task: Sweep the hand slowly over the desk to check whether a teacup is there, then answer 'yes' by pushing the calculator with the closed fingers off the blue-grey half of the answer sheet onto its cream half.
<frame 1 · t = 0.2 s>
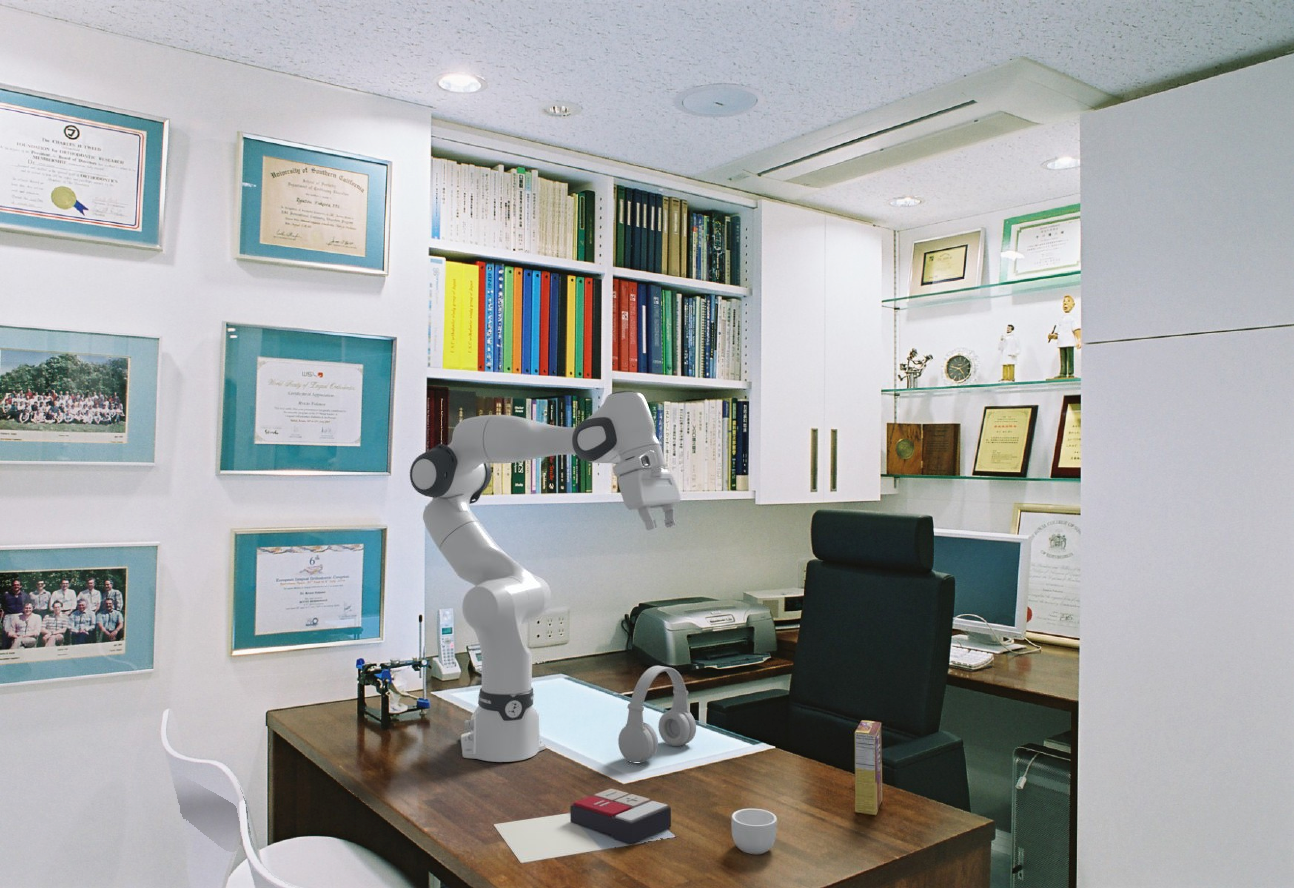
hand: (661, 528, 188), 52 cm above the table, tool tilted 20°, fingers open, 8 cm apart
teacup: (755, 847, 156), on the table
calculator: (620, 825, 164), resting on answer sheet
headphones: (657, 753, 206), on the table
answer sheet: (583, 830, 161), on the table
candy box: (868, 807, 176), on the table
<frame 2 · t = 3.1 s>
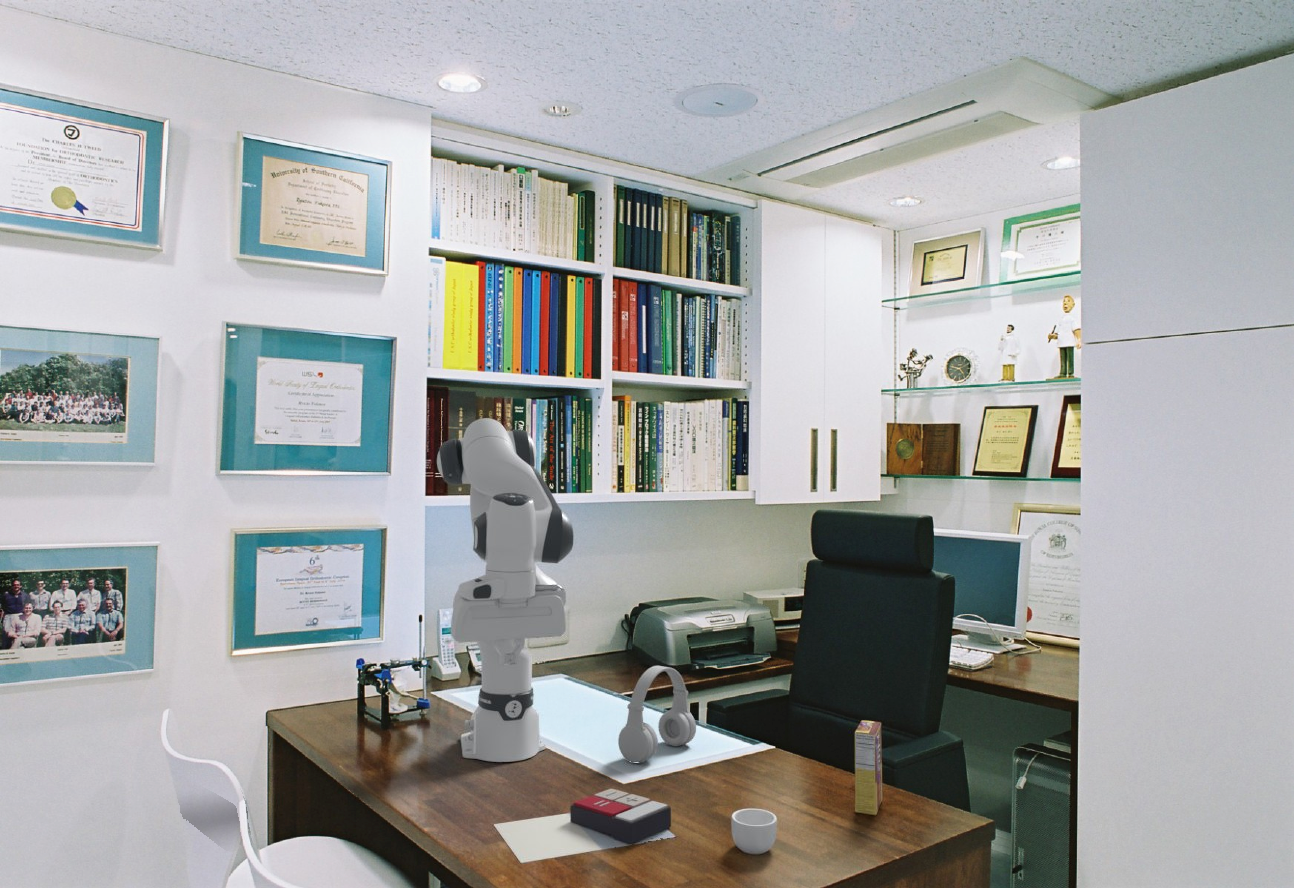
hand: (508, 664, 161), 29 cm above the table, tool pointing down, fingers closed
nothing on the table moved.
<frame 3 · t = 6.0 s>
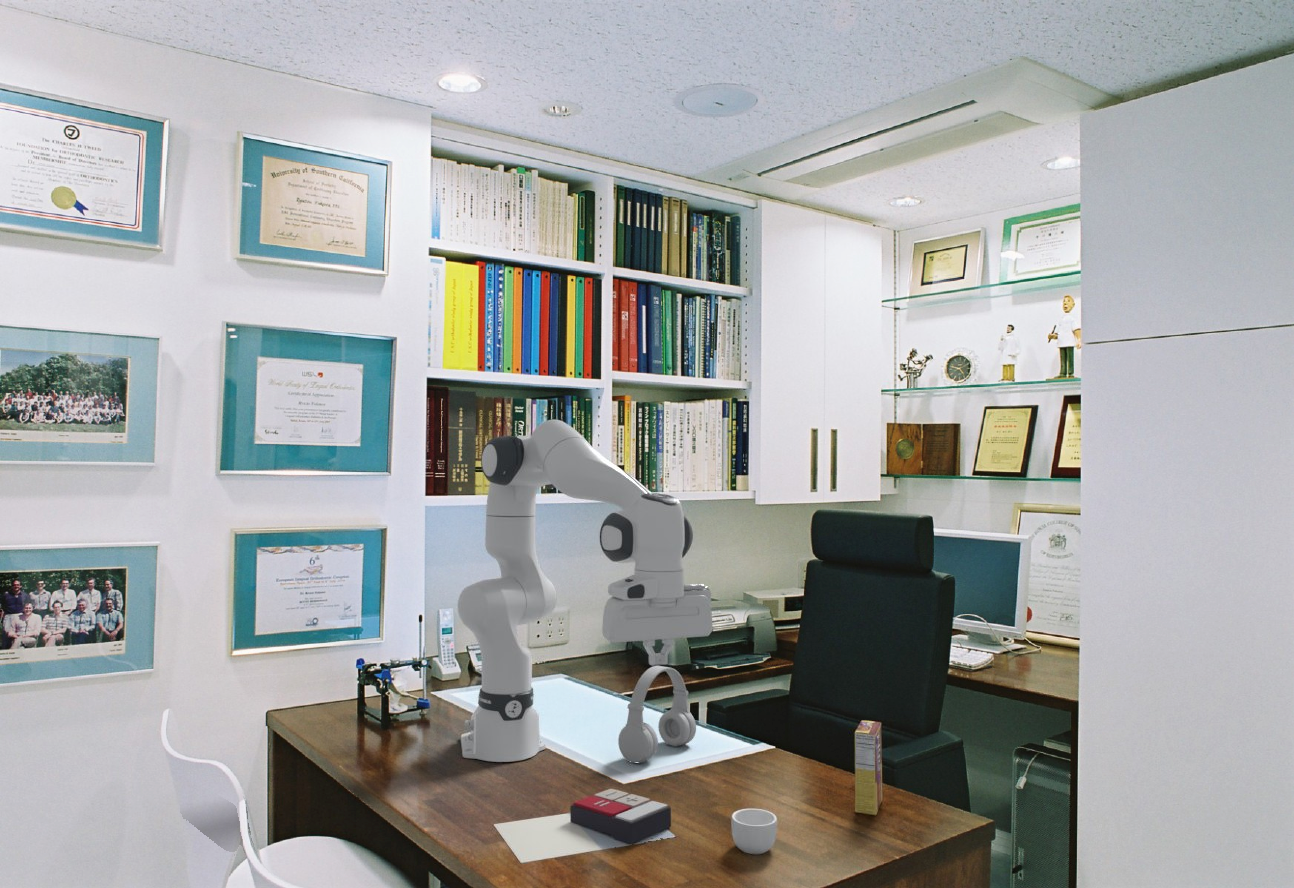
hand: (658, 664, 161), 30 cm above the table, tool pointing down, fingers closed
nothing on the table moved.
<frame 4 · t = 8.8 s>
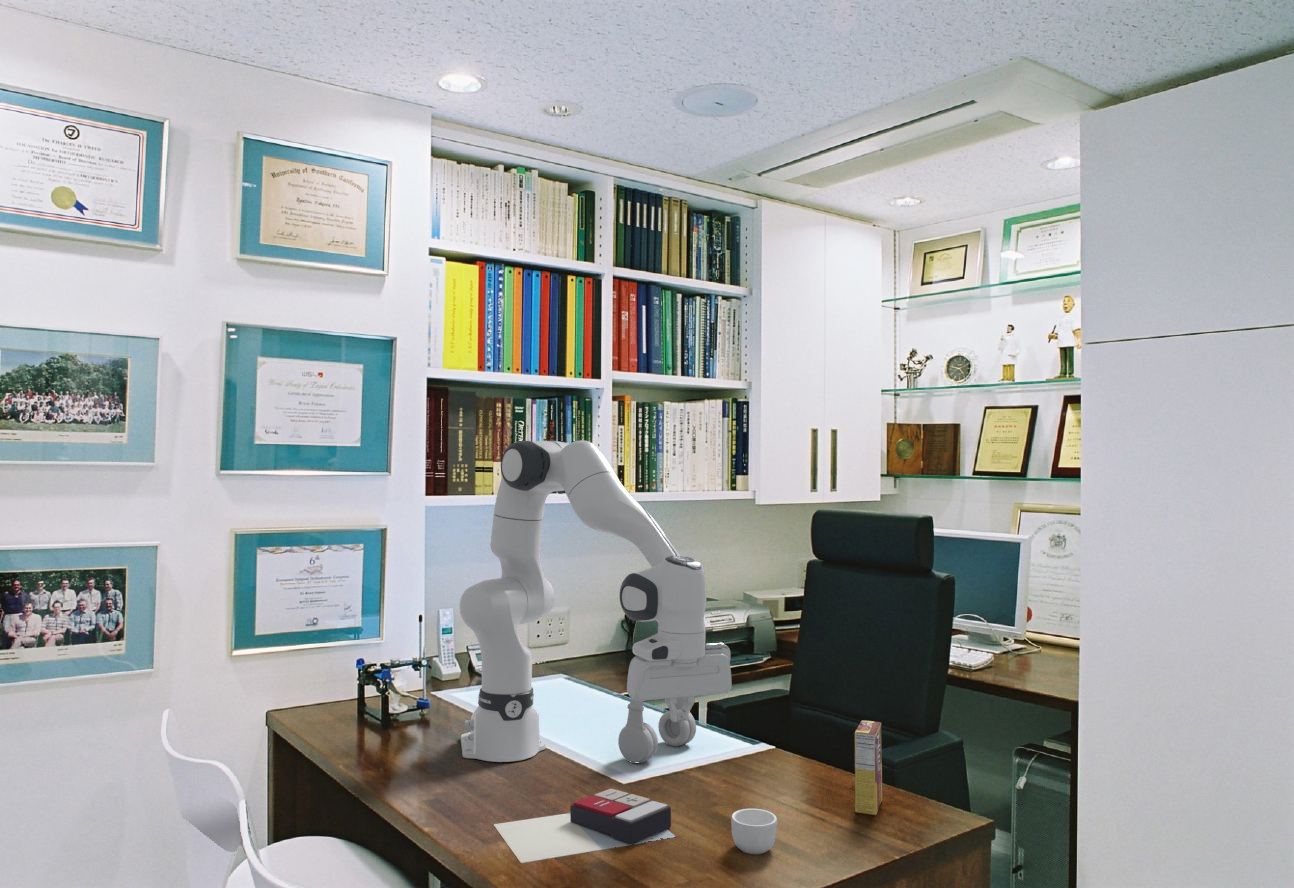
hand: (679, 720, 169), 18 cm above the table, tool pointing down, fingers closed
nothing on the table moved.
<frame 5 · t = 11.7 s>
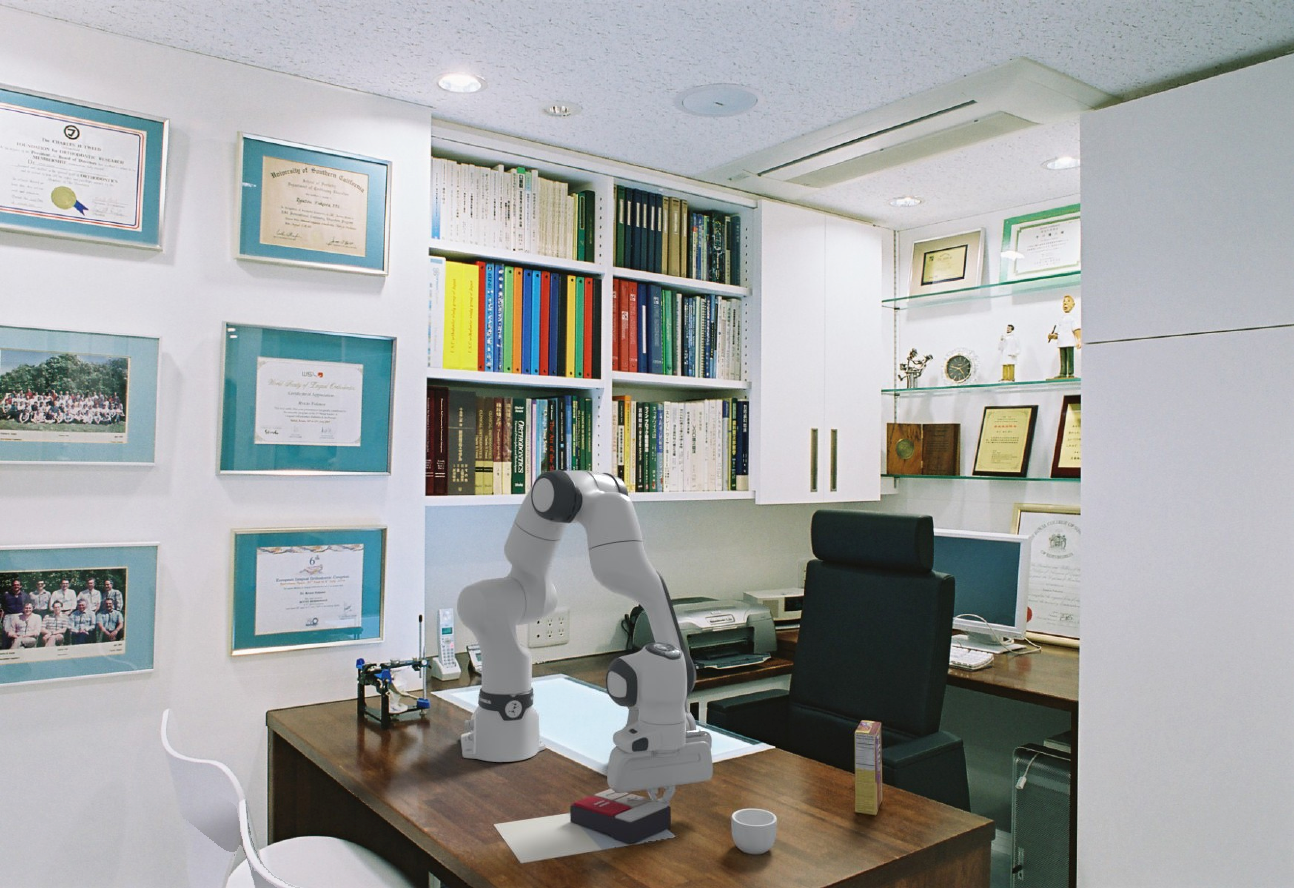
hand: (660, 809, 168), 2 cm above the table, tool pointing down, fingers closed
calculator: (620, 825, 164), resting on answer sheet, touching gripper
everything else where it was.
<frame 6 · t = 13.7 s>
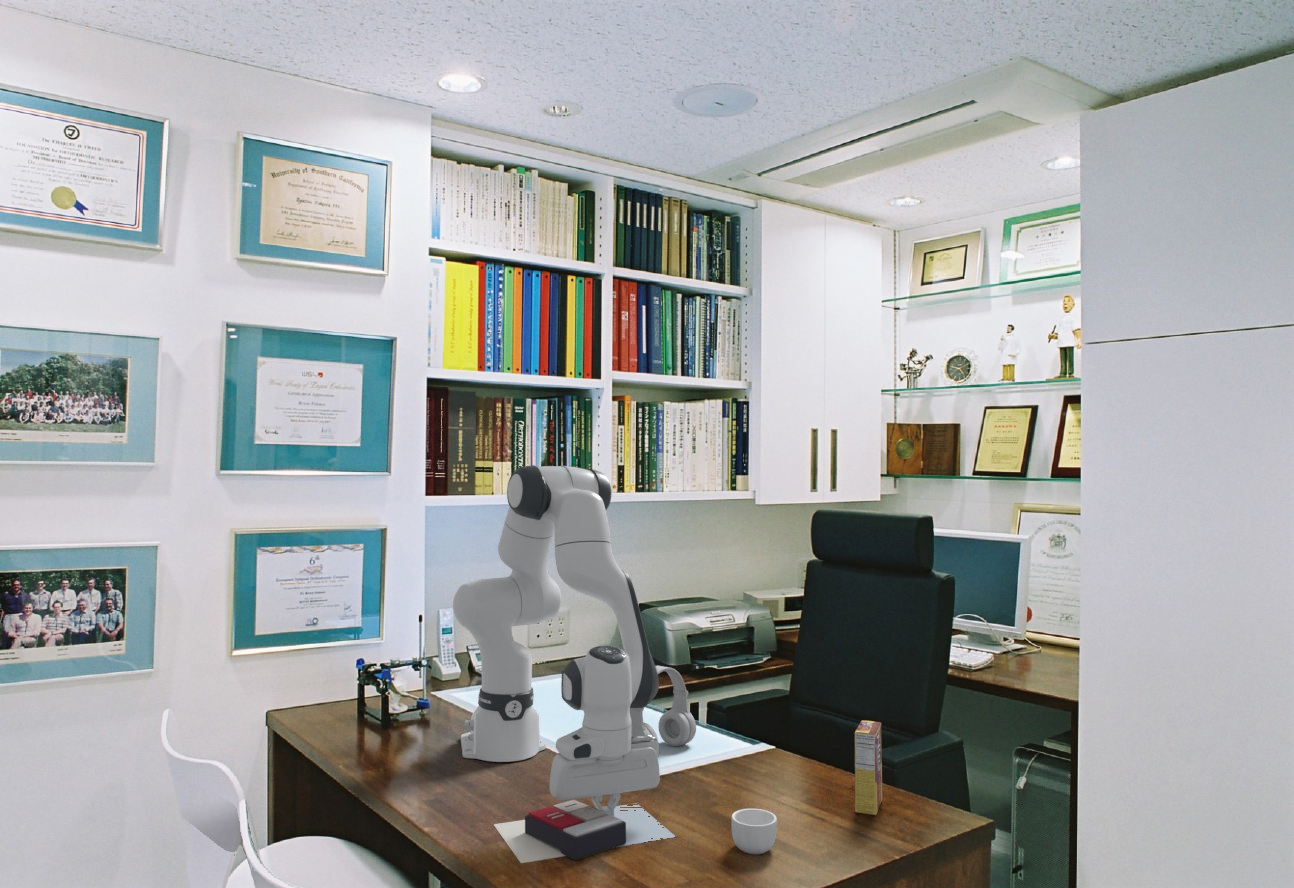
hand: (605, 818, 163), 2 cm above the table, tool pointing down, fingers closed
calculator: (574, 839, 158), resting on answer sheet, touching gripper
everything else where it was.
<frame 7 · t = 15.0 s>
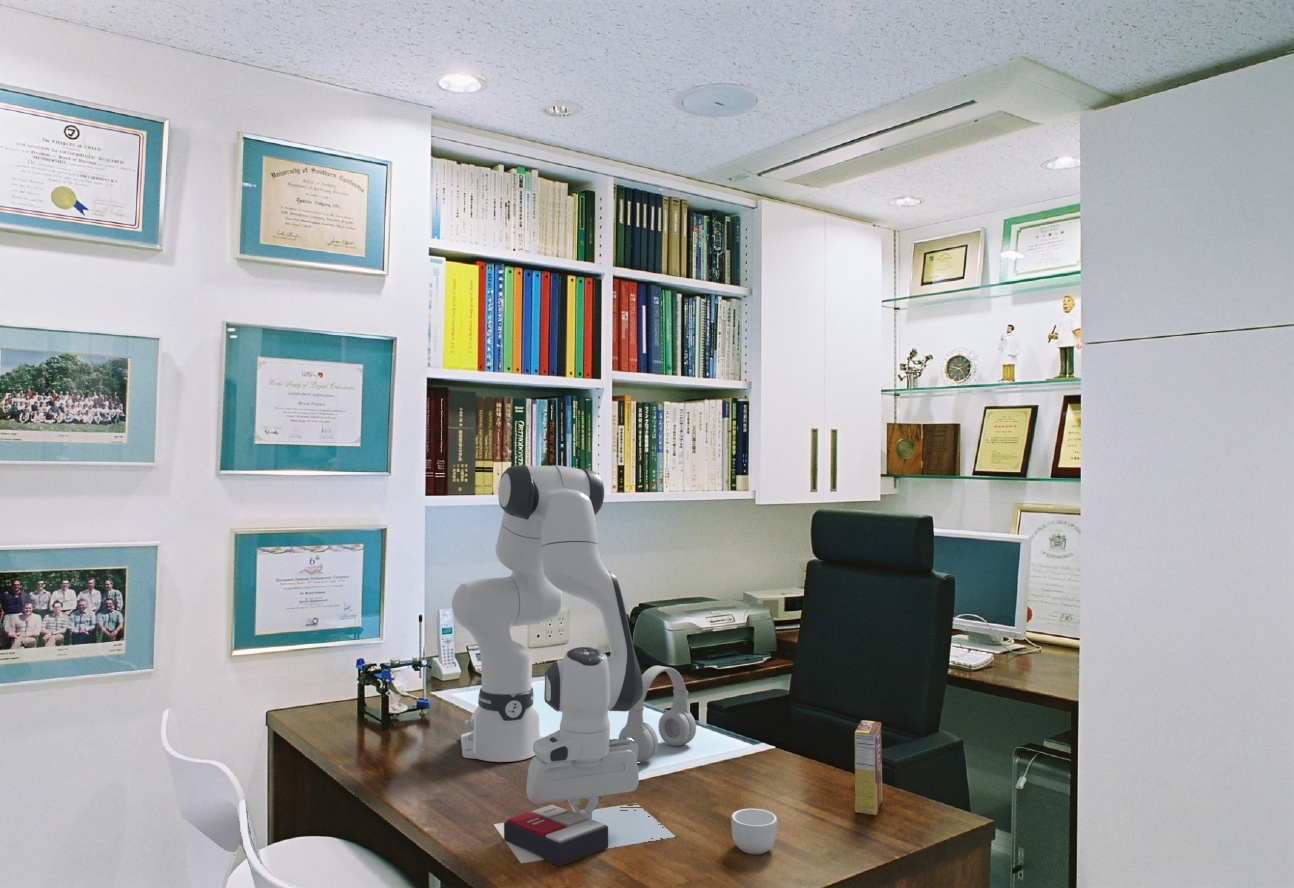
hand: (582, 821, 161), 2 cm above the table, tool pointing down, fingers closed
calculator: (555, 845, 155), resting on answer sheet, touching gripper
everything else where it was.
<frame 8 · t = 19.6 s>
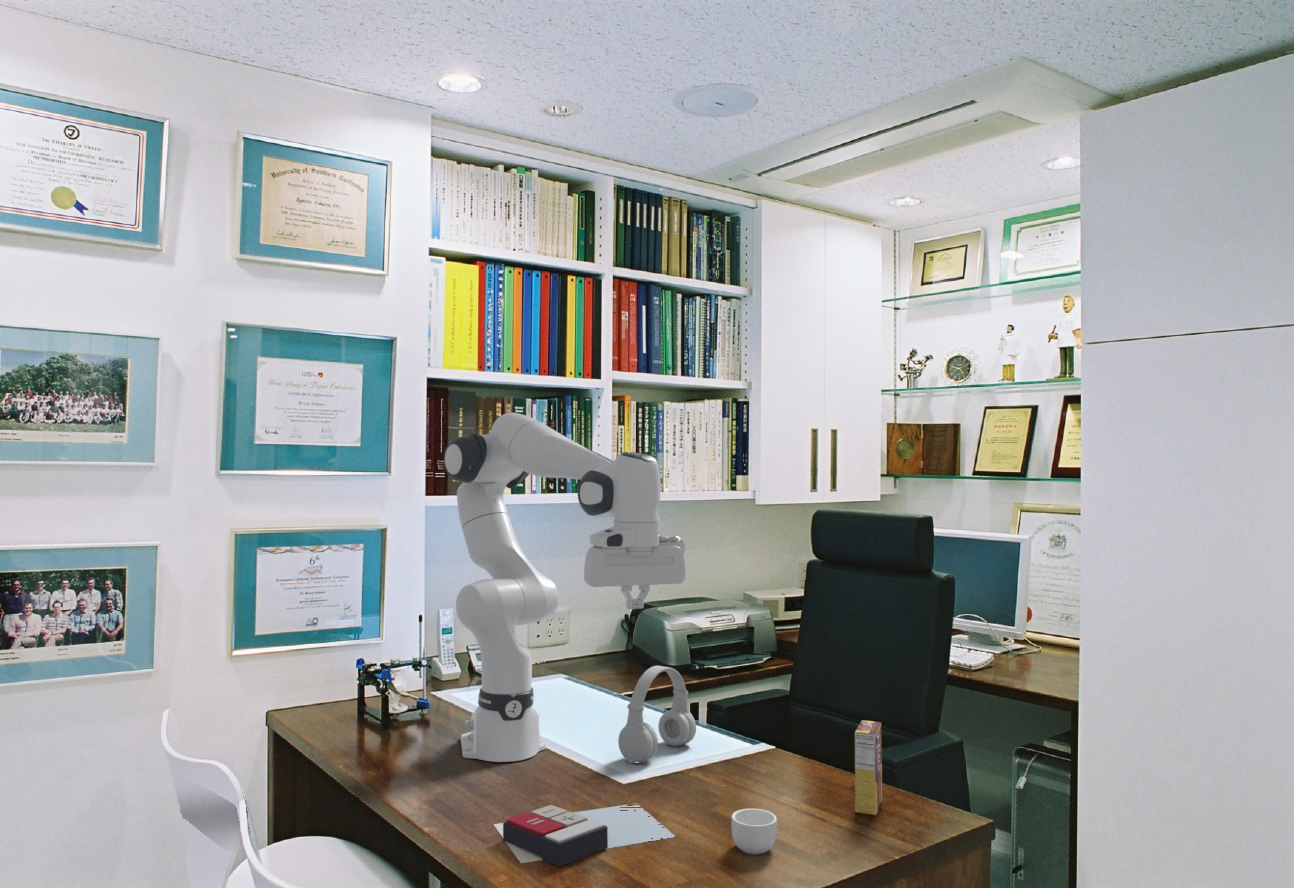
hand: (634, 608, 176), 37 cm above the table, tool pointing down, fingers closed
calculator: (554, 845, 155), resting on answer sheet
everything else where it was.
at the end: calculator inside the target area (4.0 cm from its centre), resting on answer sheet; calculator moved 14.1 cm from its start; calculator tilted 0° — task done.
